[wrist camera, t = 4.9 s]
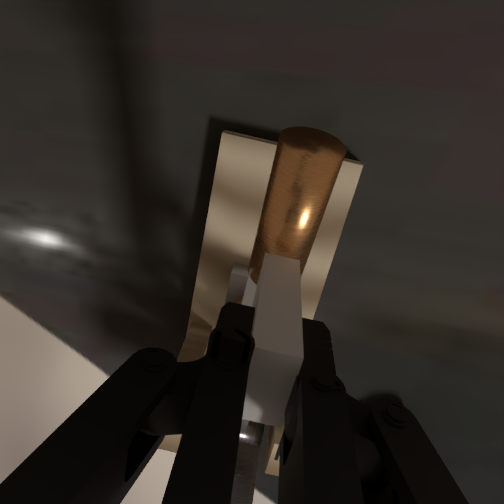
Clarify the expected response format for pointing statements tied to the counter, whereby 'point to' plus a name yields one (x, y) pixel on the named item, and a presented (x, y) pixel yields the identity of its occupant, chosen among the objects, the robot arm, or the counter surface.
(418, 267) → the counter surface
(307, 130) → the lever
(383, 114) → the counter surface
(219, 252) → the tan angle plate
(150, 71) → the counter surface
